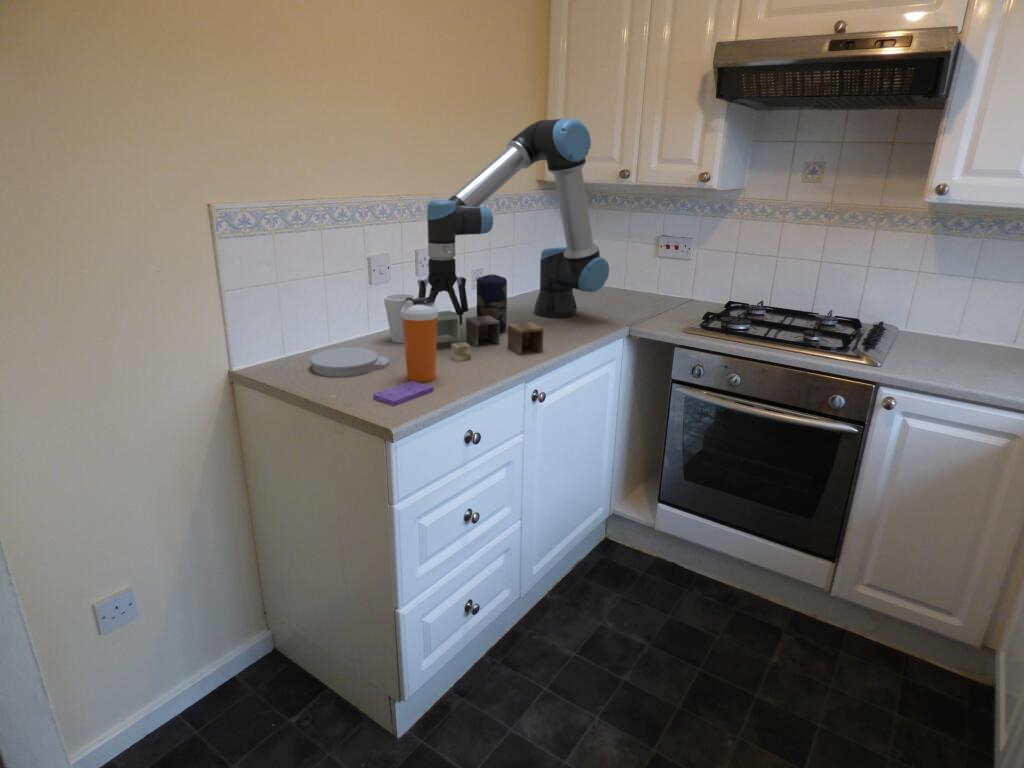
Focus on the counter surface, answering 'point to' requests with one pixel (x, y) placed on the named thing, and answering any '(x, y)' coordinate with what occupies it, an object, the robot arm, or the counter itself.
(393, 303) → the foam cup
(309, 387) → the counter surface
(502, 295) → the canister
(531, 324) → the cover walnut
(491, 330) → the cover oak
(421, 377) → the shaker bottle
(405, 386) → the sponges
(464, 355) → the maple cube
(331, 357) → the lid
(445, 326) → the cover green
